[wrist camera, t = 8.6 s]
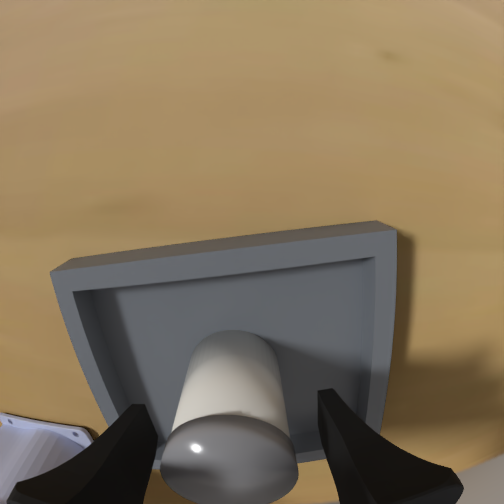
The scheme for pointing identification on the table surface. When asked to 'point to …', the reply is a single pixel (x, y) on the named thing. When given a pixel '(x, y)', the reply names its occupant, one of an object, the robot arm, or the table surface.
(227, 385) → the shaker
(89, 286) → the tray
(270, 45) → the table surface
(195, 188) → the table surface
